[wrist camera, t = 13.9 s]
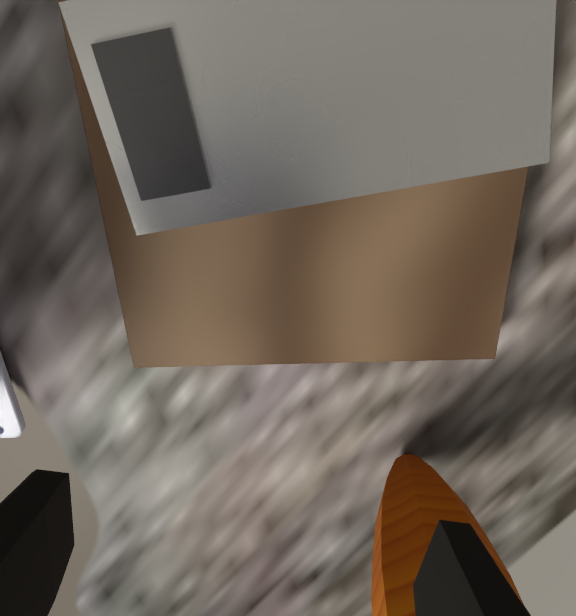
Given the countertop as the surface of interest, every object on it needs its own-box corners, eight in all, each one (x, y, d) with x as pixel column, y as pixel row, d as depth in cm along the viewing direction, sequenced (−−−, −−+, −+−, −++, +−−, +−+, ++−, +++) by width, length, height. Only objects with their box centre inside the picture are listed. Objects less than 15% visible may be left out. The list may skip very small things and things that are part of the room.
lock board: (143, 345, 21) (132, 370, 19) (-9, -453, 11) (-55, -525, 10) (482, 337, 21) (496, 361, 19) (612, -493, 11) (662, -572, 10)
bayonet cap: (445, 153, 16) (548, 244, 9) (211, 196, 16) (158, 308, 10) (433, -120, 13) (571, -257, 6) (146, -55, 13) (14, -121, 7)
